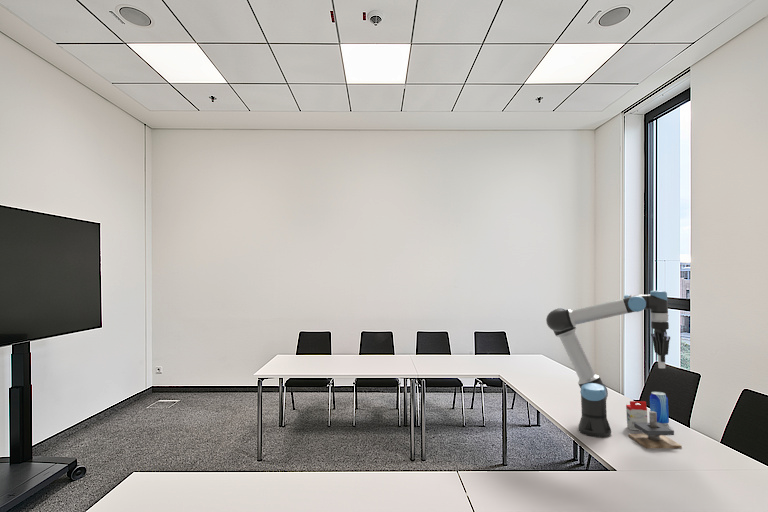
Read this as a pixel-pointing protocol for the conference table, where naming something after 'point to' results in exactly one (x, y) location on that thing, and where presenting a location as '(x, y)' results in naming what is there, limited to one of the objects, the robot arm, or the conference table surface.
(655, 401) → the beer can
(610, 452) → the conference table surface
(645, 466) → the conference table surface
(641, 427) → the square holed plate
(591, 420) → the robot arm
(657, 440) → the pipe stand
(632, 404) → the ink box
